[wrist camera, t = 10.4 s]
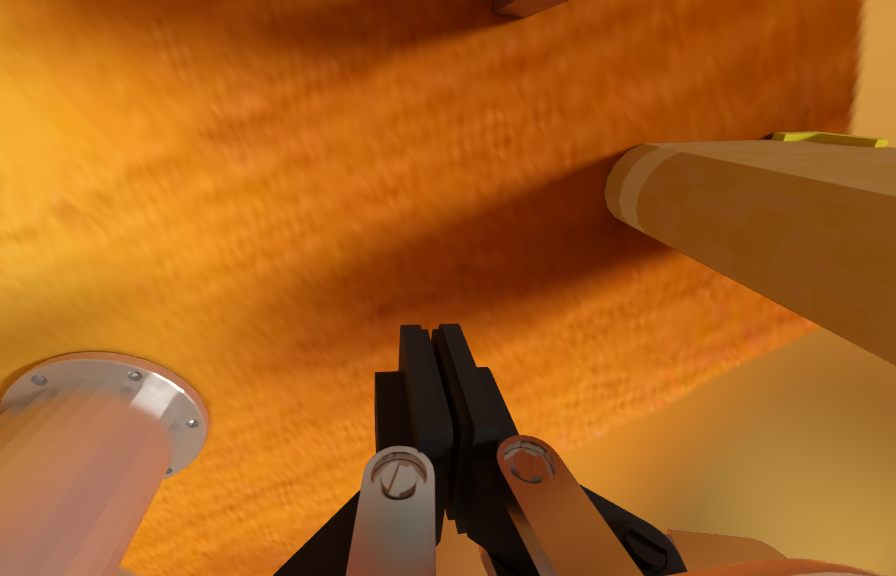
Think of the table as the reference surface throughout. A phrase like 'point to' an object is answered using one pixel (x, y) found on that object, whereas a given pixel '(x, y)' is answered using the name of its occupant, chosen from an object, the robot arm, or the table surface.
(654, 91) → the table surface
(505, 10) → the bridge
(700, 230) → the book
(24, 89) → the table surface
